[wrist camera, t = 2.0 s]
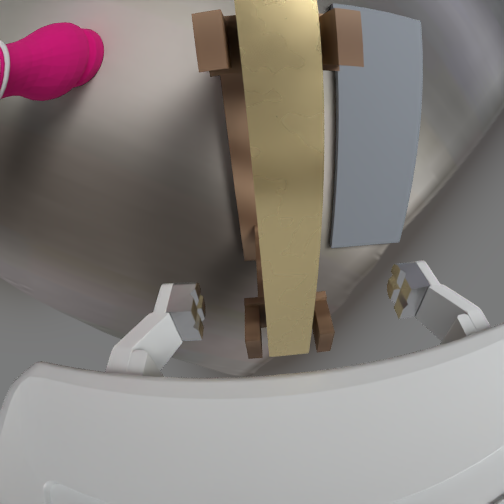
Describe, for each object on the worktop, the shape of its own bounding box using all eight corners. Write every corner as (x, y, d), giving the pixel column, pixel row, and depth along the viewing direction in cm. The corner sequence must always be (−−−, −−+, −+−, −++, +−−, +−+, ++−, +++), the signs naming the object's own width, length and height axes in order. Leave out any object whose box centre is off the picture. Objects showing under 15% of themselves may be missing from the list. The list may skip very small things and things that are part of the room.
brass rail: (235, 5, 8) (233, -7, 6) (303, 3, 8) (315, -9, 6) (267, 330, 22) (269, 356, 20) (304, 327, 22) (308, 353, 20)
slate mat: (330, 5, 16) (332, 3, 15) (416, 21, 15) (420, 21, 15) (329, 243, 32) (331, 248, 31) (396, 238, 31) (399, 242, 31)
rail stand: (215, 22, 17) (172, -32, 5) (297, 17, 17) (365, -34, 5) (244, 254, 32) (245, 372, 21) (304, 249, 32) (332, 364, 20)
